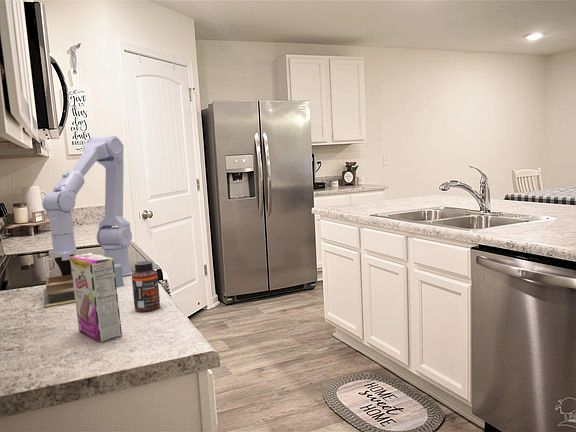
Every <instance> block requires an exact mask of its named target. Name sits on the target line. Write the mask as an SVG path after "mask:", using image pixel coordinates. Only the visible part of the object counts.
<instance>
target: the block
mask: <svg viewBox="0 0 576 432" xmlns="http://www.w3.org/2000/svg"><path fill="white" fill-rule="evenodd" d="M114 271H115V279H116V287H117V288H120V287H125V286H124V276H123V275H122V266H121V265H120V264H114Z"/></svg>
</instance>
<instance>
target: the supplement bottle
mask: <svg viewBox="0 0 576 432" xmlns="http://www.w3.org/2000/svg"><path fill="white" fill-rule="evenodd" d="M134 269H135V270H134V271H133V272H132V273H133V274H132V275H131V283H132V284H131V285H132V296H133V305H134V309H135V311H137V312H143V313H144V312H151V311H155V310H157V309H159V307H160V306H161V303H160V300H161V299H160V286H159V277H158V272H157V271H156V270H155V269H154V268H153V261H151V260H143V261H142V260H141V261H137V262H136V263H135V262H134Z"/></svg>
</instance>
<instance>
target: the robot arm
mask: <svg viewBox="0 0 576 432" xmlns="http://www.w3.org/2000/svg"><path fill="white" fill-rule="evenodd" d="M96 162H97V164H99V165H100V166H101V165H102V166H103V167H104V169H105V183H104V184H105V185H104V186H105V189H104V190H105V194H104V195H105V197H104V198H105V199H104V201H105V203H104V218H102V220H101V221H100V222H99V223H98V230H97V232H96V241H97V243H98V245H99V246H101V249H102V250H103V256H105V257H109V258H113V262H114V264H120V265H121V266H122V275H123V277H125V276H129V275H131V276H132V274H133V273H134V272H133V271H132V270H131V268H130V259H129V251H128V250H129V249H128V247H130V244H131V242H132V238H133V233H132V229H131V223H130V222H129V221H128V220H126V218H124V166H125V165H124V143H123V142H122V141H121V139H120V138H119V137H118V136H117V135H110V136H104V137H103V136H102V137H90V138H88V139H87V140H86V141H85V143H84V144H83V151H82V153H81V155H80V157H79V158H78V160H77V162H76V164H75V165H74V167H73V168H72V170H68V171H66V172H63V173H62V174H61V176H62V177H61V178H60V180H59V181H58V183H57V184H56V185H55V186H54V187H53V190H52V191H49V192H47V193H46V194H45V195H44V198H43V201H42V202H41V204H42V208H43V209H44V211H45V212H46V217H47V219H49V226H50V236H51V242H52V243H51V244H52V250H49V251H48V254H49V255H55V256H56V255H57V257H54V262H55V263H56V264H57V266H58V268H59V270H60V273H61V276H64V275H71V274H72V272H71V264H70V257H71V256H74V255H76V254H74V253H75V252H77V250H78V249H77V247H76V241H75V233H74V225H73V215H72V210H73V209H74V208H75V206H76V198H77V195H78V193H80V190H81V189H82V187H83V186H84V185H85V178H84V177H85V175H87V173H88V172H89V171H90V169H91V168H92V167H93V166H94V164H95V163H96Z"/></svg>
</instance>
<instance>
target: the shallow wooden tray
mask: <svg viewBox="0 0 576 432" xmlns="http://www.w3.org/2000/svg"><path fill="white" fill-rule="evenodd" d="M45 289H46V291H47V295H48V299H49V303H50V302H53V294H57V293H63V292H69V291H74V287H73V279H72V274H71V275H64V276H62V275H59V276H58V275H57V276H52V277H46V278H45Z"/></svg>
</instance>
